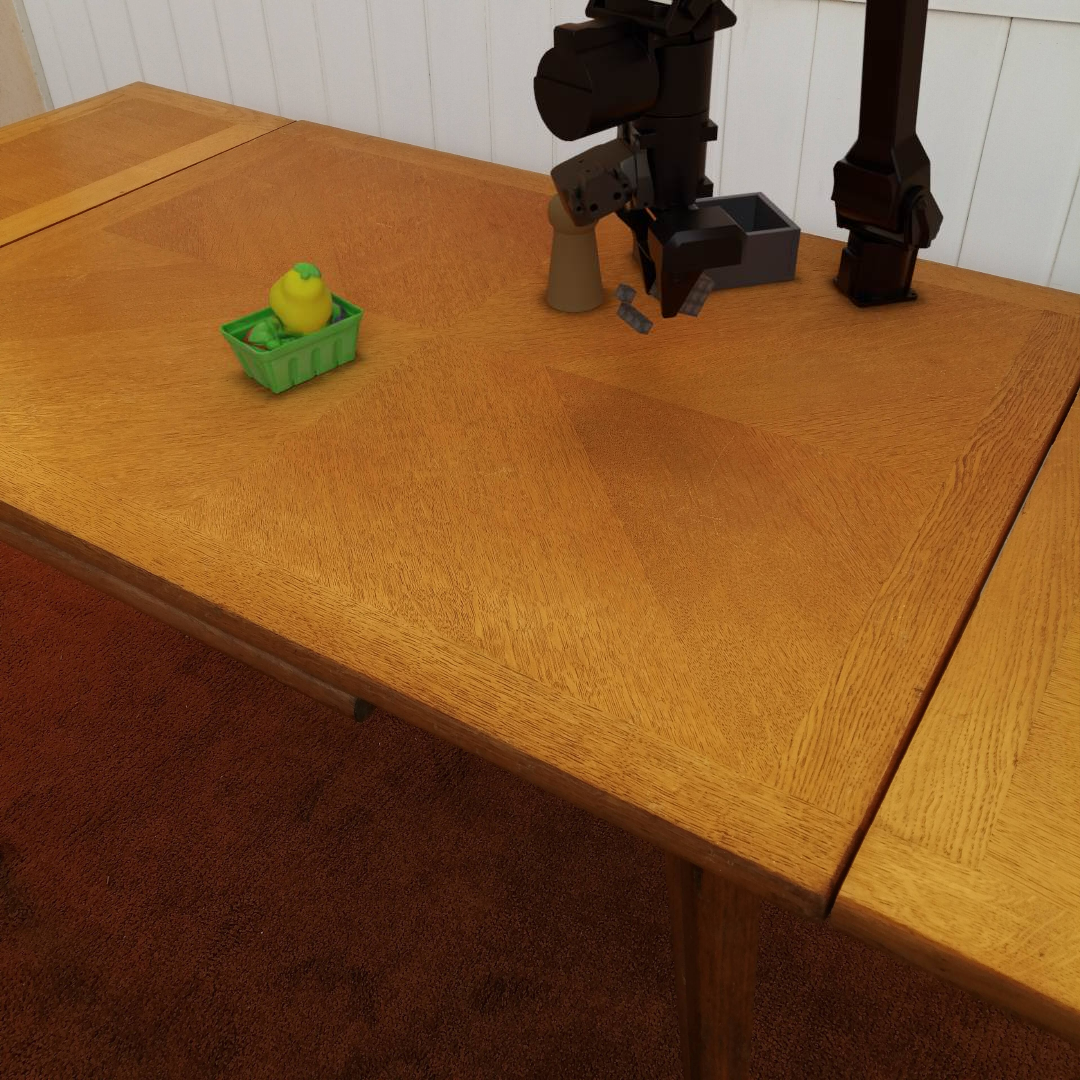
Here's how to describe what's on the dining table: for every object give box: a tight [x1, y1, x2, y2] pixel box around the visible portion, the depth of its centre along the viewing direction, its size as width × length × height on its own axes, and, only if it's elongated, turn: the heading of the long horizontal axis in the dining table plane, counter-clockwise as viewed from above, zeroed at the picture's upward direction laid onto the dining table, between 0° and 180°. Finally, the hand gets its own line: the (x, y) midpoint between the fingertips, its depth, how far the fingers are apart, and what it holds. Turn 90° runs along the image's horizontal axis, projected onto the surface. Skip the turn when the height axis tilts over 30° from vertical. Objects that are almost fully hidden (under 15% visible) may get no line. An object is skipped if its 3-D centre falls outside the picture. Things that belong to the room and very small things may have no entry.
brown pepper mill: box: [545, 192, 605, 313], centre depth 100 cm, size 6×6×11 cm
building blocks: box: [613, 273, 716, 336], centre depth 80 cm, size 3×6×8 cm
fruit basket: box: [219, 261, 364, 395], centre depth 91 cm, size 11×9×11 cm
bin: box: [632, 191, 802, 292], centre depth 107 cm, size 15×11×6 cm
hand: (660, 305), depth 81 cm, fingers closed on building blocks, 4 cm apart
